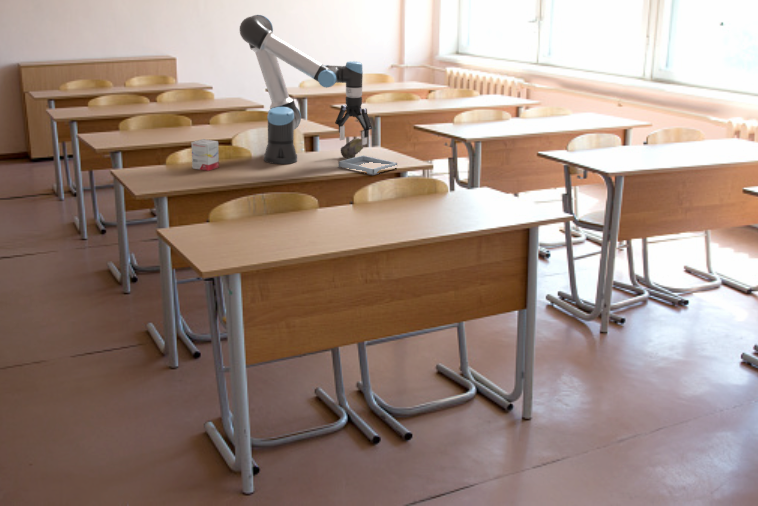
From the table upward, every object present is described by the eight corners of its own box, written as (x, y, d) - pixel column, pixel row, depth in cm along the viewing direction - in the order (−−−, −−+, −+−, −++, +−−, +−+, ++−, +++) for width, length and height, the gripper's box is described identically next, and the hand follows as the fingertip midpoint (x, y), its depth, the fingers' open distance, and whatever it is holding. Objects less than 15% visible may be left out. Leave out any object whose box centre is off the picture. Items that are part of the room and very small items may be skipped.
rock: (361, 156, 398) (362, 135, 395) (364, 160, 389) (365, 139, 386) (339, 155, 397) (340, 135, 393) (341, 160, 388) (341, 139, 384)
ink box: (219, 167, 366) (219, 140, 362) (207, 171, 359) (207, 144, 355) (203, 164, 369) (202, 138, 365) (191, 168, 362) (190, 141, 358)
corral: (338, 167, 375) (338, 161, 375) (363, 161, 389) (363, 155, 388) (372, 175, 364) (372, 169, 363) (396, 168, 377) (397, 162, 377)
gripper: (328, 94, 388) (327, 139, 395) (370, 100, 373) (369, 147, 380) (338, 92, 393) (338, 136, 400) (380, 98, 379) (379, 144, 386)
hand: (353, 142), depth 390 cm, fingers open, 13 cm apart
